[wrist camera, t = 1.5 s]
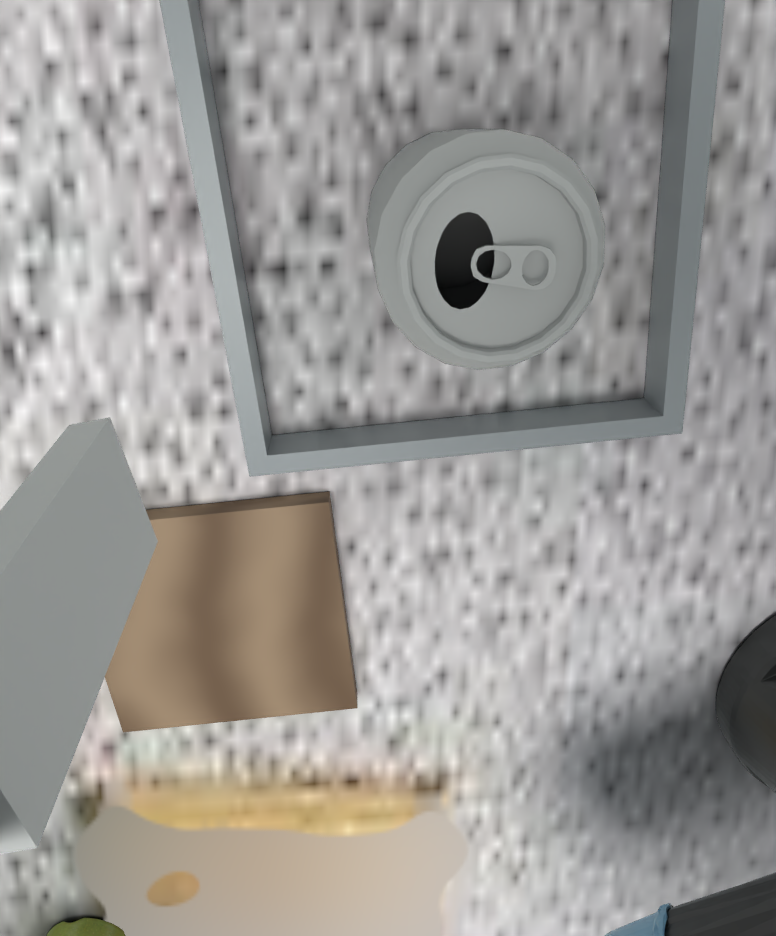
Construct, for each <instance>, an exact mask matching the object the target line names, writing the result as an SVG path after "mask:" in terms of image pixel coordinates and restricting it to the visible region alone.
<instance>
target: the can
mask: <svg viewBox="0 0 776 936" xmlns="http://www.w3.org/2000/svg"><path fill="white" fill-rule="evenodd" d="M367 227H368V236H369V245H370V251H371V256H372V261H373V266H374V271H375V276H376V281H377V286H378V290H379V292H380V295H381V297H382V299H383V301H384V304H385V306H386V308H387V310H388V313H389V315H390V317H391V319H392V322H393V323H394V324H395V325H396V326H397V327H398V328H399V329H400V331H401V332H402V333H403V334H404V335H405V336H406V337H407V338H408V339H409V340H410V341H411V343H412V344H413V345H414V346H415V347H416V348H418V349H420V350H422V351H423V352H425V353H427V354H429V355H431V356H432V357H434V358H436V359H438V360H440V361H441V362H443V363H445V364H450V365H455V366H460V367H465V368H470V369H476V370H482V369H491V368H499V367H508V366H513V365H515V364H518V363H520V362H522V361H525V360H527V359H529V358H532V357H534V356H536V355H538V354H541V353H543V352H545V351H546V350H547V349H548V348H550V347H551V346H552V345H553V344H554V343H556V342H557V341H558V340H559V339H560V338H562V337H563V336H564V335H565V334H566V333H568V332H569V331H570V330H571V329H572V328H573V326H574V325H575V323H576V322H577V321H578V319H579V318H580V316H581V315H582V313H583V312H584V310H585V309H586V307H587V306H588V304H589V303H590V302H591V300H592V298H593V295H594V292H595V289H596V286H597V283H598V280H599V277H600V274H601V271H602V268H603V265H604V248H605V224H604V220H603V217H602V214H601V210H600V207H599V203H598V200H597V197H596V193H595V190H594V188H593V187H592V186H591V184H590V183H589V181H588V180H587V179H586V177H585V176H584V174H583V173H582V172H581V170H580V169H579V167H578V166H577V165H576V163H575V162H574V160H573V159H571V158H570V157H568V156H567V155H566V154H564V153H563V152H561V151H560V150H558V149H557V148H555V147H554V146H552V145H551V144H549V143H548V142H546V141H545V140H543V139H542V138H538V137H534V136H530V135H526V134H522V133H518V132H514V131H509V130H505V129H457V130H449V131H440V132H432V133H430V134H428V135H426V136H424V137H422V138H420V139H418V140H415V141H413V142H411V143H409V144H407V145H406V146H405V147H404V148H403V149H402V150H401V151H400V152H399V153H398V154H397V155H396V156H395V157H393V158H392V159H391V160H390V161H389V162H388V163H387V164H386V165H385V167H384V169H383V171H382V173H381V175H380V177H379V179H378V180H377V182H376V184H375V186H374V188H373V190H372V193H371V199H370V204H369V209H368V214H367Z"/></svg>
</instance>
